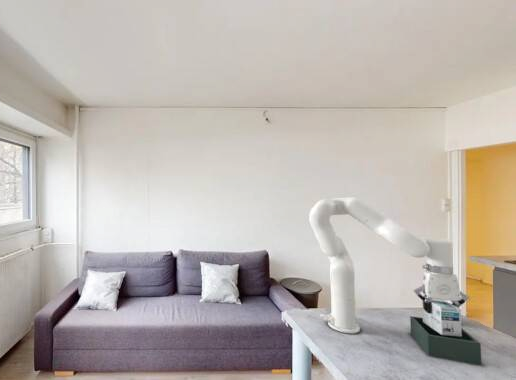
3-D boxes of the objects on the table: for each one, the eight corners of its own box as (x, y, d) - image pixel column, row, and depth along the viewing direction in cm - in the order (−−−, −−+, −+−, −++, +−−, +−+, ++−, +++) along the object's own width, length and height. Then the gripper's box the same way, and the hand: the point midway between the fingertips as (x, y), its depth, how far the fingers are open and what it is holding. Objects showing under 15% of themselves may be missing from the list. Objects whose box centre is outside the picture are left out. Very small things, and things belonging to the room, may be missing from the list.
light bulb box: (462, 337, 99) (462, 308, 99) (441, 335, 100) (441, 307, 100) (440, 323, 109) (440, 297, 109) (421, 321, 111) (421, 296, 111)
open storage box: (428, 355, 100) (427, 335, 100) (410, 333, 115) (410, 316, 115) (481, 365, 94) (480, 343, 94) (455, 340, 109) (454, 322, 109)
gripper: (415, 269, 105) (416, 314, 105) (475, 274, 98) (476, 322, 98) (408, 264, 112) (409, 306, 112) (463, 268, 105) (464, 313, 105)
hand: (440, 313), depth 105 cm, fingers closed on light bulb box, 7 cm apart
